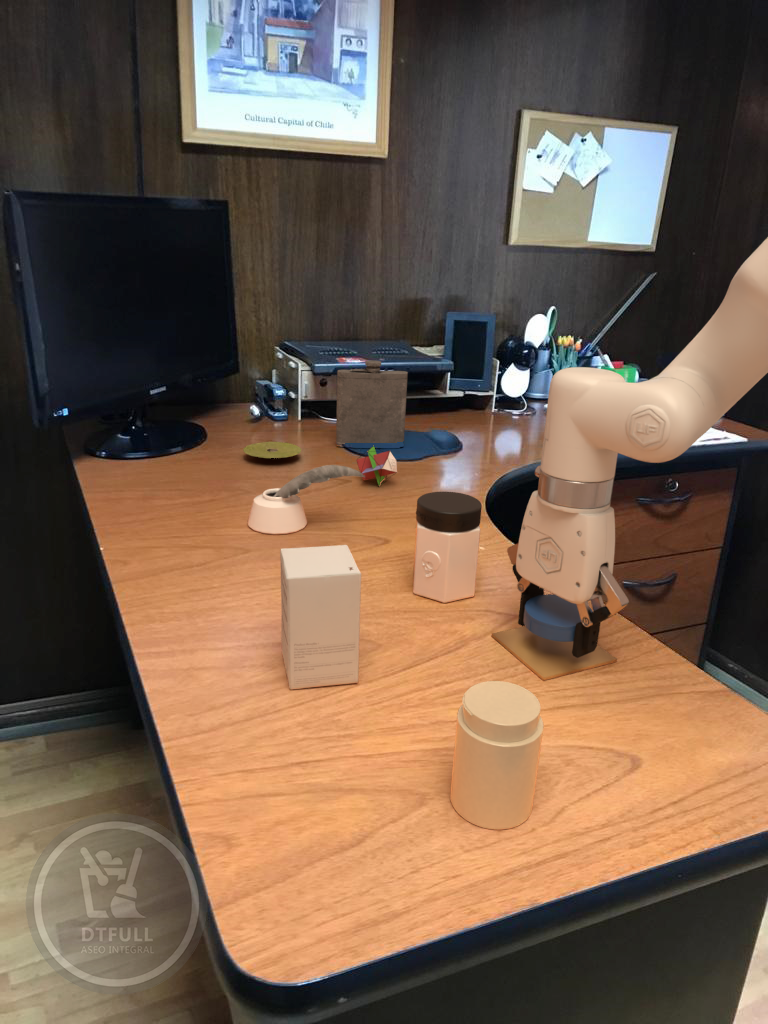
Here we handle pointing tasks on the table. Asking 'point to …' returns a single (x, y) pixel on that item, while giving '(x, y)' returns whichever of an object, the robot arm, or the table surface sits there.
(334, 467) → the inkwell
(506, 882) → the table surface
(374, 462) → the geometric puzzle
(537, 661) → the coaster
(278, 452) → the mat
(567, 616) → the lid
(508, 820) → the jam jar
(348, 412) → the flask
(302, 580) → the white packaging box
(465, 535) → the jar
